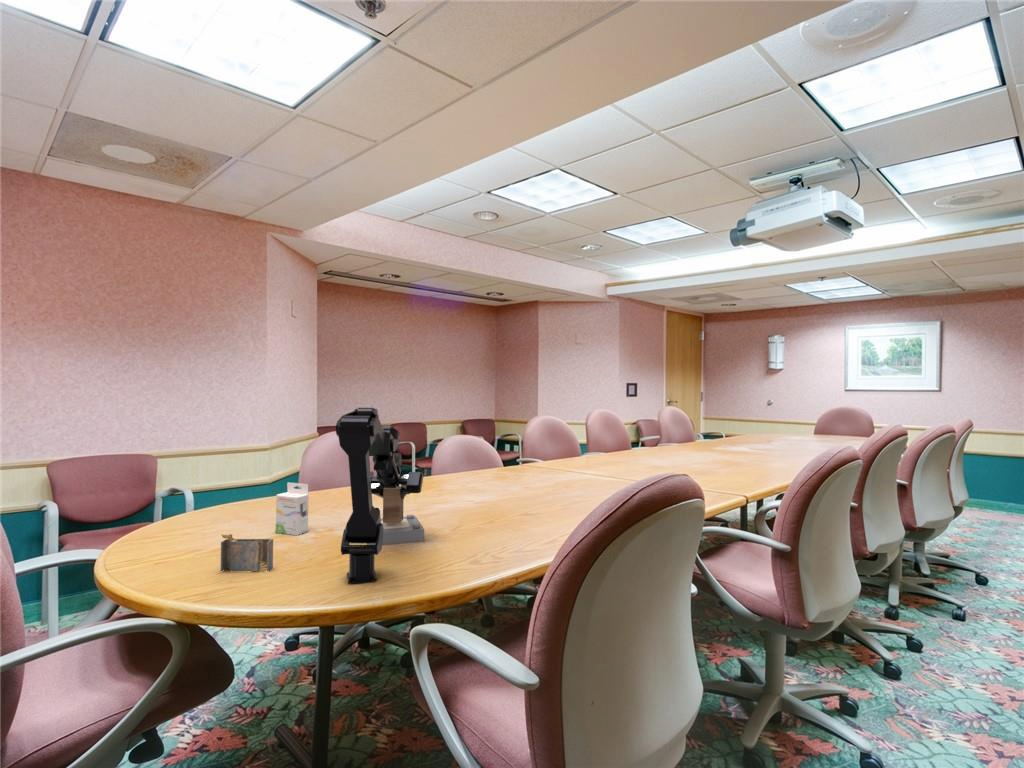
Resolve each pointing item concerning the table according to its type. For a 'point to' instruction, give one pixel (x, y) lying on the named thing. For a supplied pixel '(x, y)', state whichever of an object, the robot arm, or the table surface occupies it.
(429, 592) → the table surface
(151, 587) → the table surface
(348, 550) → the robot arm
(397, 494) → the walnut brick
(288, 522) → the ink box
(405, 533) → the base brick
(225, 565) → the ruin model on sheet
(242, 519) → the table surface
